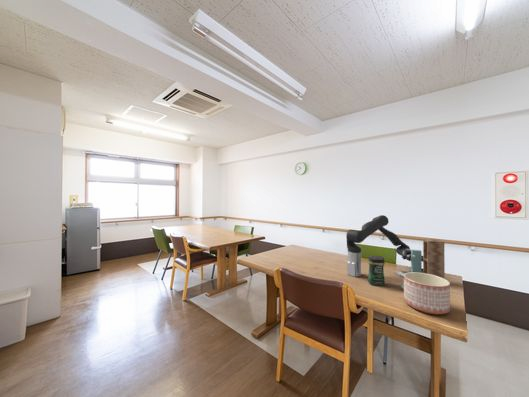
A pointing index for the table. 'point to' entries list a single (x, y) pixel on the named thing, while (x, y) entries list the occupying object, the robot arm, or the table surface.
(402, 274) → the handle
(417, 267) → the teal rectangular block
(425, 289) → the planter
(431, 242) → the cabinet
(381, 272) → the coffee jar
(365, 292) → the table surface
